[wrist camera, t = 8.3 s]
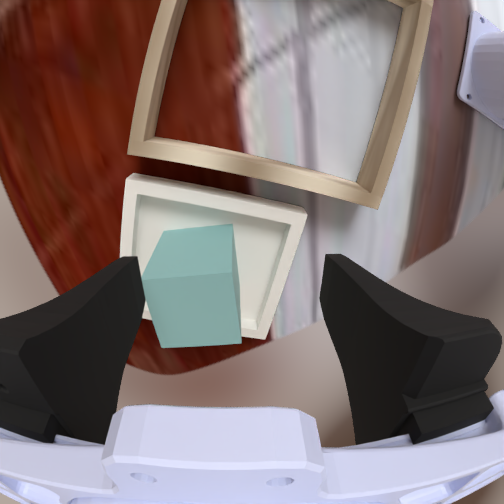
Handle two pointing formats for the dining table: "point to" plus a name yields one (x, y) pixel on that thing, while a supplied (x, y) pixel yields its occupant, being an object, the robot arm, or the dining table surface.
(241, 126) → the dining table surface
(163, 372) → the dining table surface
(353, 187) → the bin
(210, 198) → the tray
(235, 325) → the teal block
